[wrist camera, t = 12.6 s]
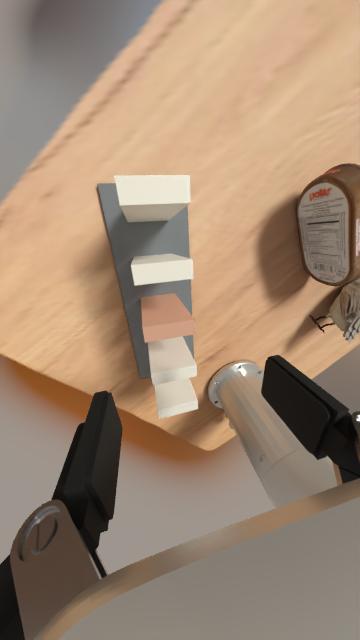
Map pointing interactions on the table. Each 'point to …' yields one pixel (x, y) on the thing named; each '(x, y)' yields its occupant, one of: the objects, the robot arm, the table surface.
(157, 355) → the tile
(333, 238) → the tin
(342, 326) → the decorative bird
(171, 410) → the tile
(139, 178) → the tile
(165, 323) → the tile
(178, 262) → the tile
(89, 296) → the table surface
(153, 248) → the slate mat
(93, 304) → the table surface
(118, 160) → the table surface
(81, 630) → the robot arm
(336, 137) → the table surface
